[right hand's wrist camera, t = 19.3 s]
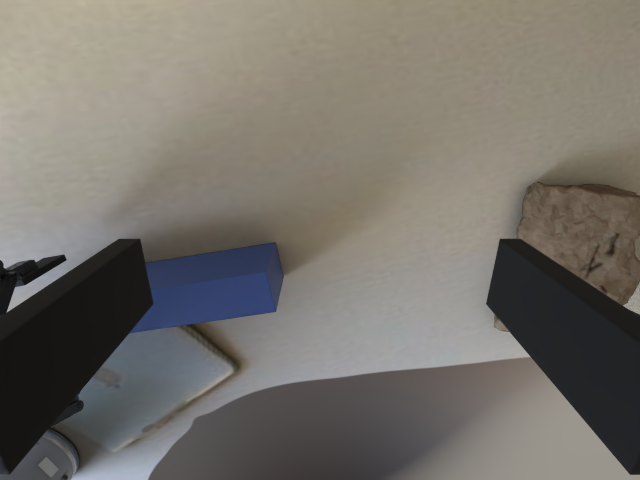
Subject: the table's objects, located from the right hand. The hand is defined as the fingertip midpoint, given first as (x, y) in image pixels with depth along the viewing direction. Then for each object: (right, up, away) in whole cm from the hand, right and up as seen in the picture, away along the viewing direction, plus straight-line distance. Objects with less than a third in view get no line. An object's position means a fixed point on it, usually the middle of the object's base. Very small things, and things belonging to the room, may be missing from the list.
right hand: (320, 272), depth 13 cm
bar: (-20, -4, +35) cm, 41 cm away
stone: (+32, -1, +34) cm, 46 cm away
